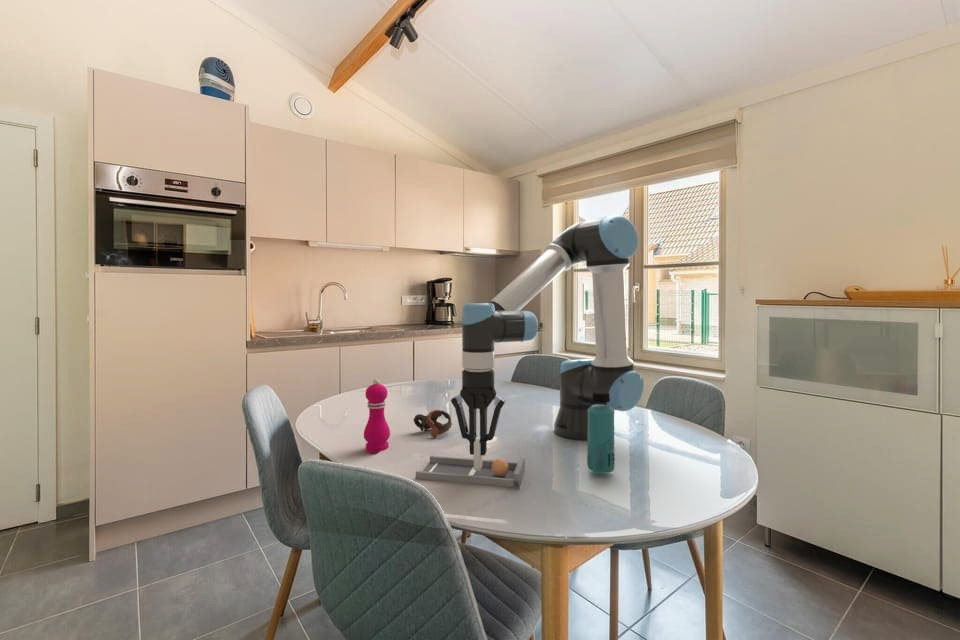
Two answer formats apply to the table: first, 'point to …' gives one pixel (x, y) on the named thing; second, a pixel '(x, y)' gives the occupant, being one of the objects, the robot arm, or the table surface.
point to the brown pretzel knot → (433, 422)
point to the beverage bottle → (600, 435)
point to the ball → (500, 467)
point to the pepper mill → (376, 419)
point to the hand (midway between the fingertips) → (478, 467)
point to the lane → (471, 472)
